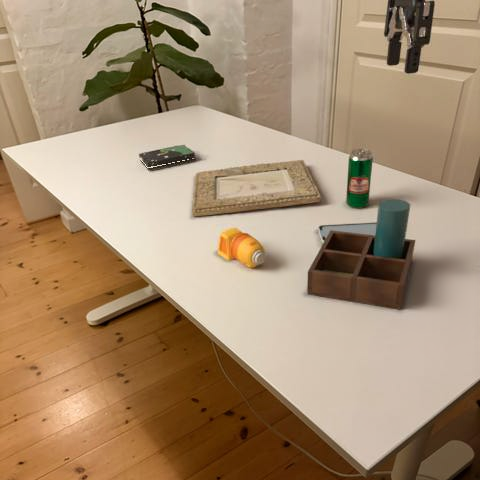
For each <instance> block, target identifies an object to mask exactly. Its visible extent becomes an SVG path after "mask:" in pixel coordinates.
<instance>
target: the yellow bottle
mask: <svg viewBox="0 0 480 480" xmlns="http://www.w3.org/2000/svg"><path fill="white" fill-rule="evenodd" d="M218 239H219V240H218V246H217V254H218V255H219V256H221V257H222V258H224V259H225V260H227V261H233V260H236V261H238V262H240V263H241V264H243V266H246V267H248V268H255V267H257V266H260V265H261V264H263V263H264V262H265V260H266V251H265V248H264V246H263V245H262V244H261V242H260V241H259V240H258V239H256V237H253V236H252V235H251V234H249V233H247V232H242V230H240V229H238V228H237V227H231V228H228V229H226V230H223V231H222V232H220V235H219V238H218Z"/></svg>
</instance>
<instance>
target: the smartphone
mask: <svg viewBox="0 0 480 480" xmlns="http://www.w3.org/2000/svg"><path fill="white" fill-rule="evenodd" d="M376 224H377V221H376V222H375V221H374V222H356V223H337V224H334V223H333V224H320V225H318V226H317V230H318V234H319V238H320V241H321V243H322V244H323V243H324V241H325V240H326V238H327V236H328V234H329V232H330V230H332V231H341V232H350V233H359V234H367V235H375V233H376Z"/></svg>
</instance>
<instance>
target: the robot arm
mask: <svg viewBox="0 0 480 480" xmlns="http://www.w3.org/2000/svg"><path fill="white" fill-rule="evenodd" d="M435 3H436V2H435V0H387V6H386V13H385V23H384V31H383V36H384V37H385V38H386V41H387V43H388V45H387V55H386V65H387V66H389V67H392V66H398V65H400V59H401V51H402V43H403V42H402V41H403V38H404V37H405V38H406V43H407V44H406V46H407V49H406V55H405V61H404V71H403V72H404V74H407V75H409V74H416V73H418V71H419V67H420V60H421V55H422V54H421V53H422V48H424V47H425V46H428V45H429V44H430V42H431V36H432V29H433V20H434V14H435V13H434V12H435V5H436V4H435Z"/></svg>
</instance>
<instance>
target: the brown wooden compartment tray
mask: <svg viewBox="0 0 480 480" xmlns="http://www.w3.org/2000/svg"><path fill="white" fill-rule="evenodd" d="M374 242H375V235H367V234H359V233H350V232H341V231H332V230H330V232H329V234H328V236H327V238H326V240H325V241H324V243H322V245H321V247H320V248H319V251H318V252H317V254H316V255H315V257H314V259H313V261H312V263H311V265H310V266H309V268H308V270H307V289H306V291H307V292H306V293H307V295H310V296H316V297H323V298H328V299H334V300H335V299H336V300H340V301H346V302H347V301H348V302H353V303H359V304H364V305H370V306H375V307H381V308H387V309H394V310H401V307H402V304H403V299H404V295H405V291H406V287H407V283H408V279H409V276H410V271H411V266H412V262H413V257H414V251H415V246H416V239H410V238H409V239H408V238H405V243H404V250H403V256H402V259H397V258H389V257H381V256H374V255H373V250H374Z"/></svg>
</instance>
